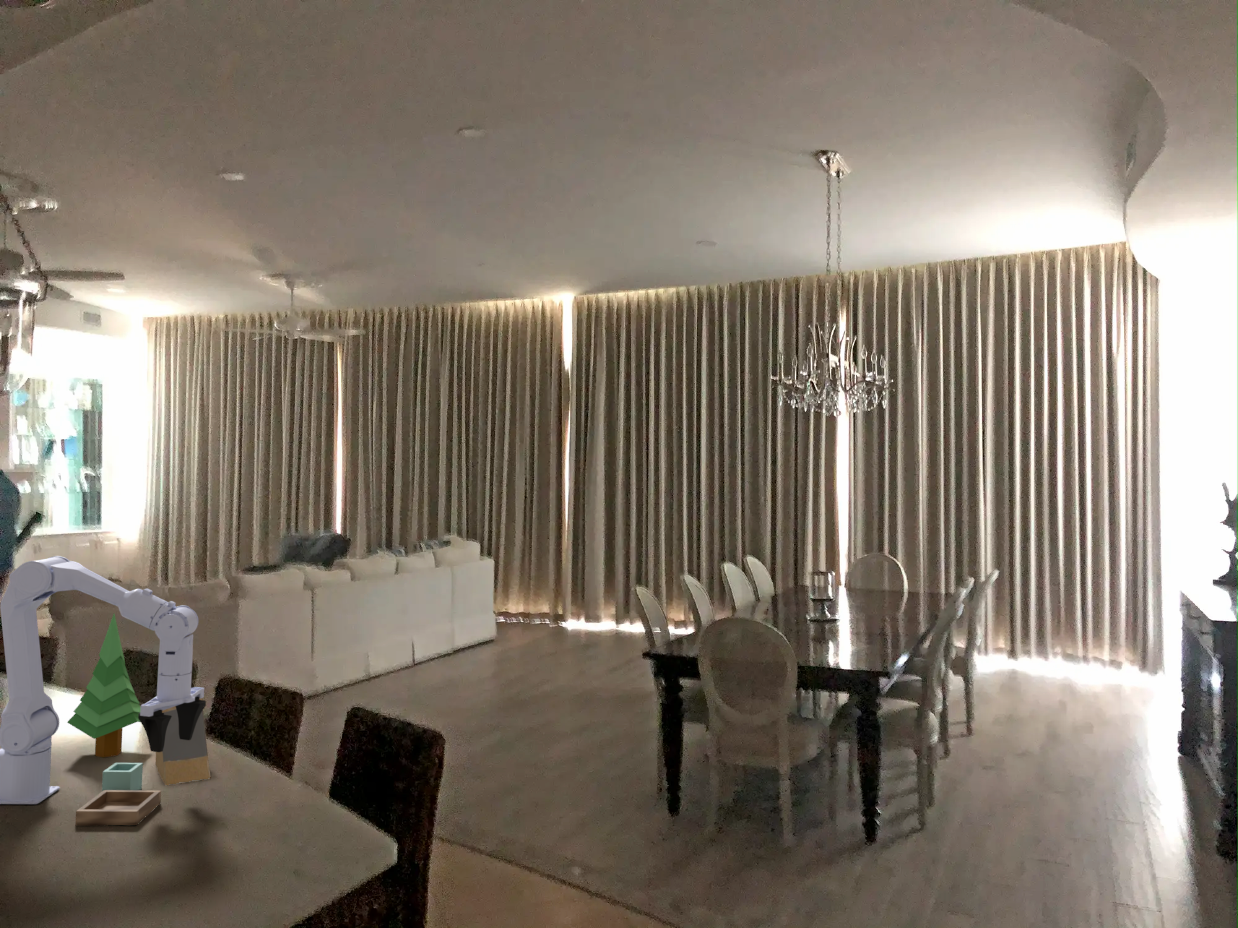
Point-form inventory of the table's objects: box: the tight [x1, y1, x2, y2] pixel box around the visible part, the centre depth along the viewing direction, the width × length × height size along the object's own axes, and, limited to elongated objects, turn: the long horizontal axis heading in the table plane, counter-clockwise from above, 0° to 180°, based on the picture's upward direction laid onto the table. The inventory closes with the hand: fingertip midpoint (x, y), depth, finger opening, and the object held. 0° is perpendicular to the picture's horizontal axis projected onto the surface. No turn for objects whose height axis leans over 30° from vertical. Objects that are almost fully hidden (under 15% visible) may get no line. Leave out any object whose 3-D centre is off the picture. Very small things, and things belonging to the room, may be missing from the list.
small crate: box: [101, 762, 144, 792], centre depth 169 cm, size 5×5×5 cm
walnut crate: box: [75, 789, 162, 827], centre depth 159 cm, size 10×10×2 cm
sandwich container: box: [155, 698, 211, 786], centre depth 182 cm, size 9×15×15 cm, turn 34°
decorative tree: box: [66, 613, 141, 758], centre depth 191 cm, size 14×16×30 cm
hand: (171, 744), depth 168 cm, fingers open, 7 cm apart
